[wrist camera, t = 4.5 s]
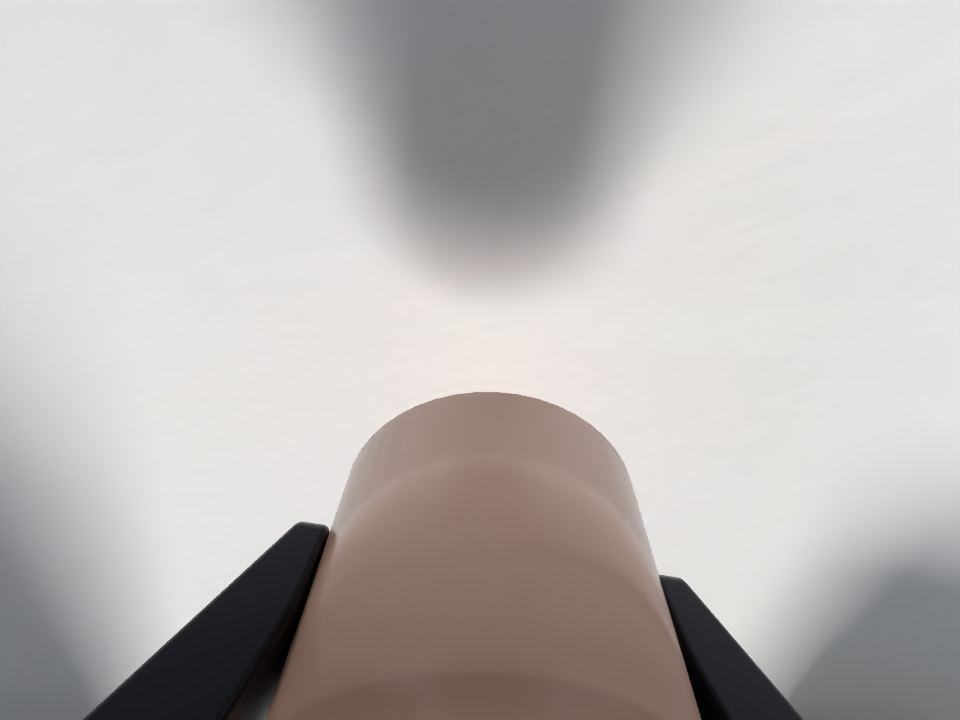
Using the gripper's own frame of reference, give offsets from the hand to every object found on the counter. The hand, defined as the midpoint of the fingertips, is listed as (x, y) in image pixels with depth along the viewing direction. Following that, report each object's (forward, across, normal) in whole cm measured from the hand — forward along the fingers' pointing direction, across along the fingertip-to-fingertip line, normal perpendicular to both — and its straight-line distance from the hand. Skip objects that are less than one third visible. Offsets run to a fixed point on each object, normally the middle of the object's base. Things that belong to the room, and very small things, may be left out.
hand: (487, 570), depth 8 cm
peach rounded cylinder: (+1, 0, 0) cm, 1 cm away
